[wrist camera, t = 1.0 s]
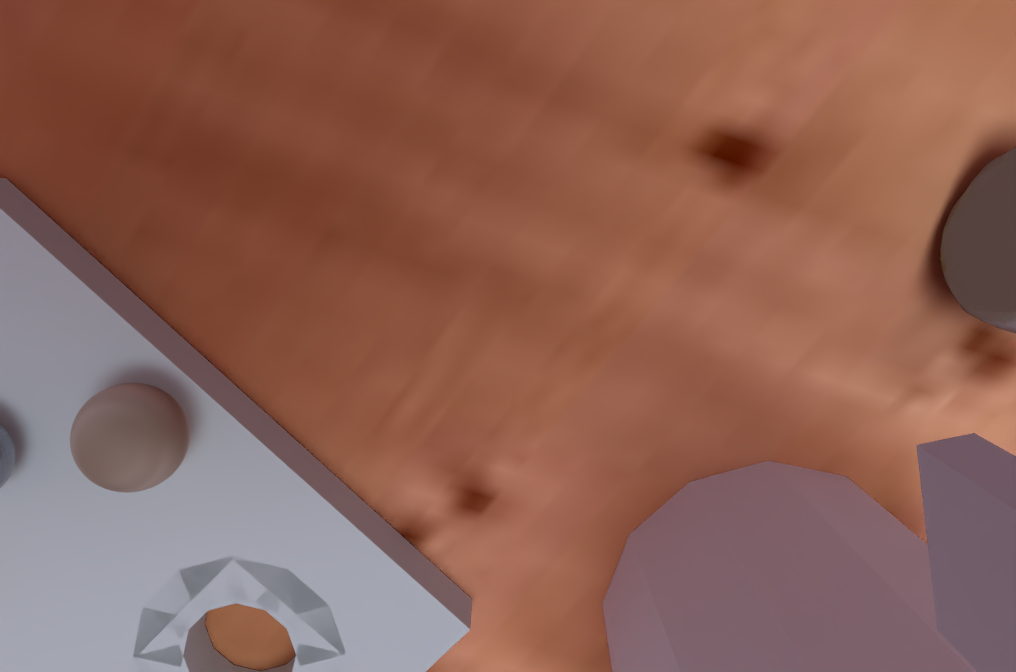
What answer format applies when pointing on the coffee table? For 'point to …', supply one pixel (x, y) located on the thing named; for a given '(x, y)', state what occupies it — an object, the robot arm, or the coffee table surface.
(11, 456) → the steel ball
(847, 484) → the container
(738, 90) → the coffee table surface
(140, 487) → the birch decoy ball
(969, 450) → the robot arm
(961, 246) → the mug
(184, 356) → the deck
